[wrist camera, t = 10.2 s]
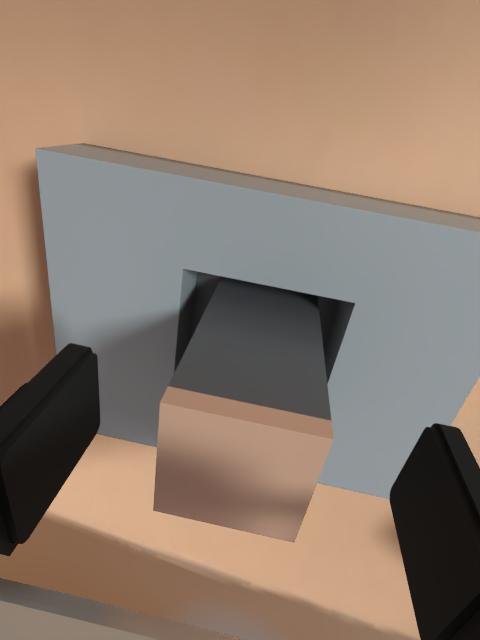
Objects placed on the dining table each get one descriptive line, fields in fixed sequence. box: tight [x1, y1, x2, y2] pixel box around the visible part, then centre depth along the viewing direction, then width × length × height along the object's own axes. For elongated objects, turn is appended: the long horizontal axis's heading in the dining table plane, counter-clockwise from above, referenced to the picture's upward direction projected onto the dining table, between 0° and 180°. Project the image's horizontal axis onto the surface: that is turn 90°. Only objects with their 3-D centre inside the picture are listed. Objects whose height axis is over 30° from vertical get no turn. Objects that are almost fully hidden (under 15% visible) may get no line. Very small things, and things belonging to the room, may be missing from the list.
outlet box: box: [35, 143, 480, 499], centre depth 16 cm, size 16×12×3 cm
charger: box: [153, 277, 334, 542], centre depth 13 cm, size 4×4×8 cm
